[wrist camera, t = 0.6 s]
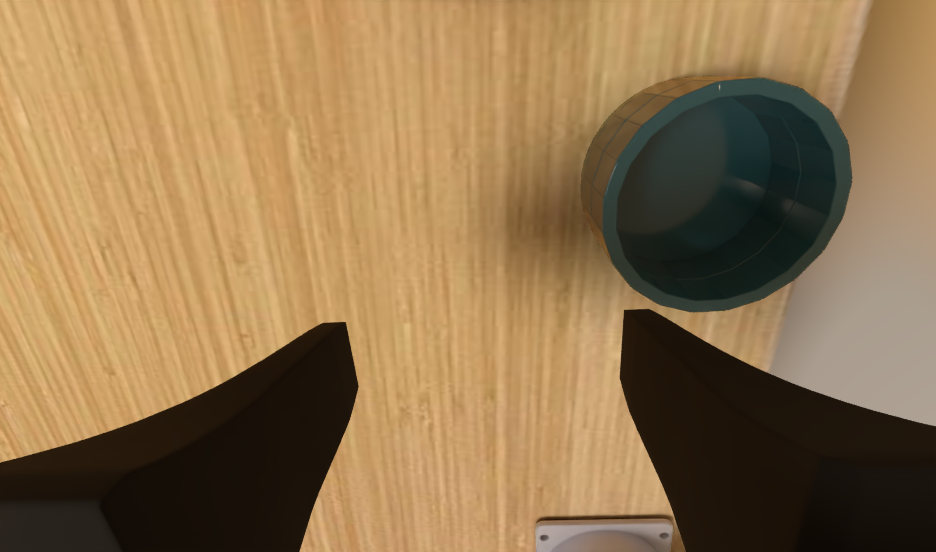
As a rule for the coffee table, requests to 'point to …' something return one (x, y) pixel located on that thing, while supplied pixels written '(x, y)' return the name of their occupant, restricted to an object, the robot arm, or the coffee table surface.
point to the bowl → (716, 189)
